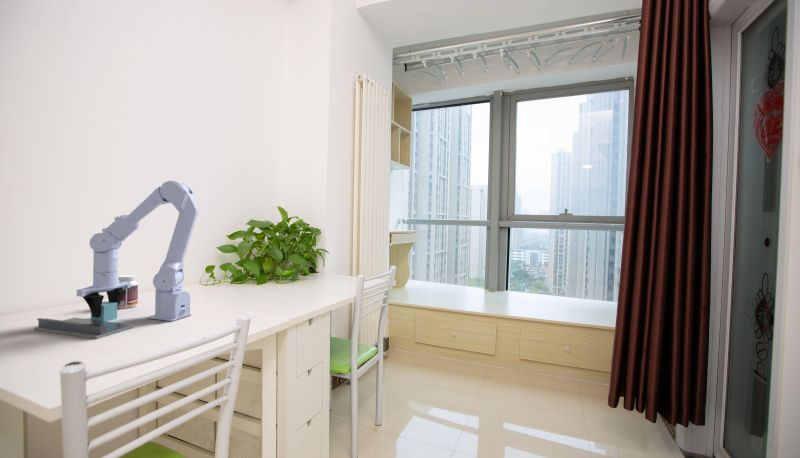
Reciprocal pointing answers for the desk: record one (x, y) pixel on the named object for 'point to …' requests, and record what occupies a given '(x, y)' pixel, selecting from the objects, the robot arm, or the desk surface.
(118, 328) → the rail board
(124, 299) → the pill bottle
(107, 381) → the desk surface
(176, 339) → the desk surface
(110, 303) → the block
